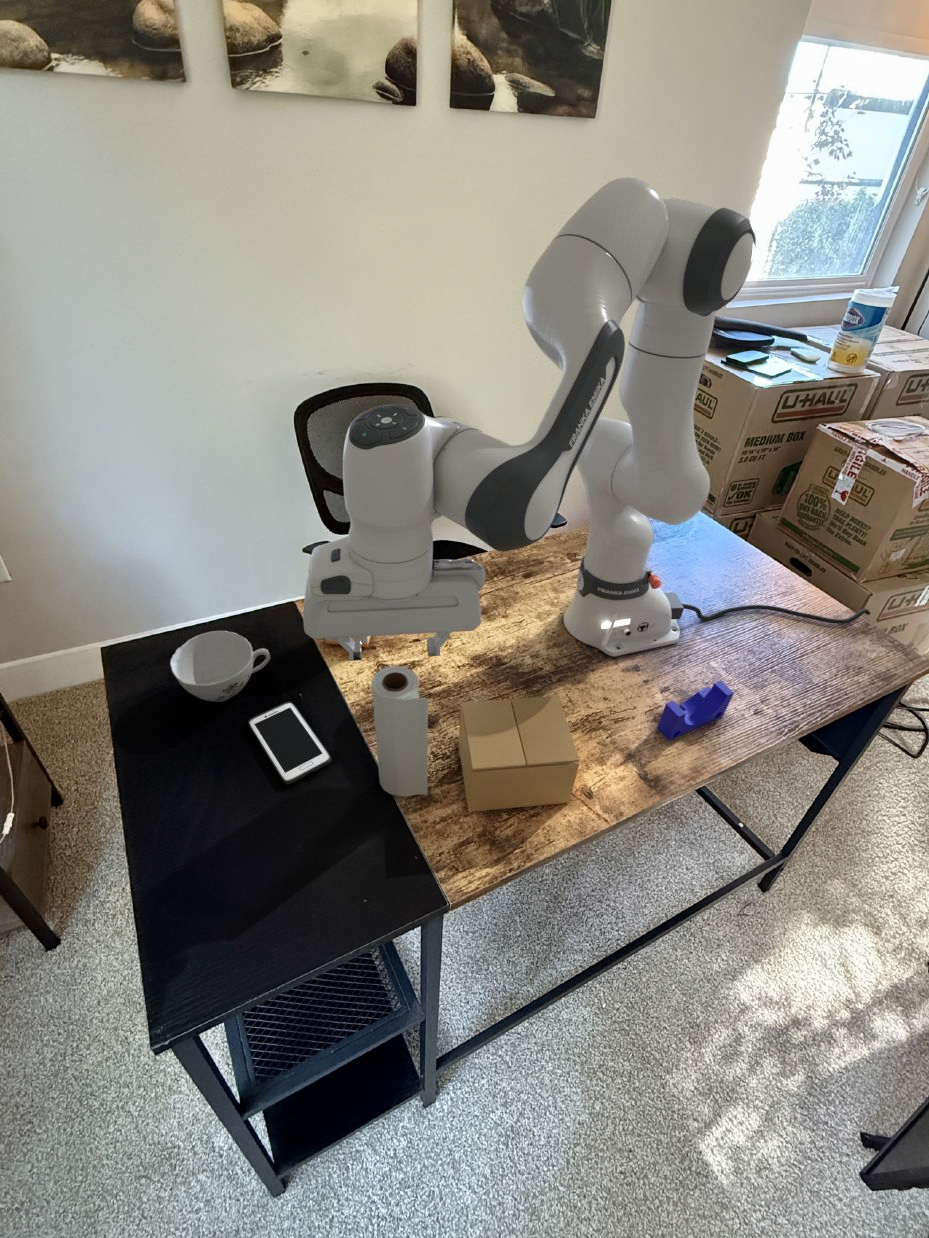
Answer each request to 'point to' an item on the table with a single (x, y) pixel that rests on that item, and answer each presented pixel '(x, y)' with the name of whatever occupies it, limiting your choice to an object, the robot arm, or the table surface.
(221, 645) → the teacup
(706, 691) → the cable clip
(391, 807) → the table surface
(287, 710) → the cell phone
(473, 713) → the carton
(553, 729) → the flap
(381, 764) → the paper towel roll
